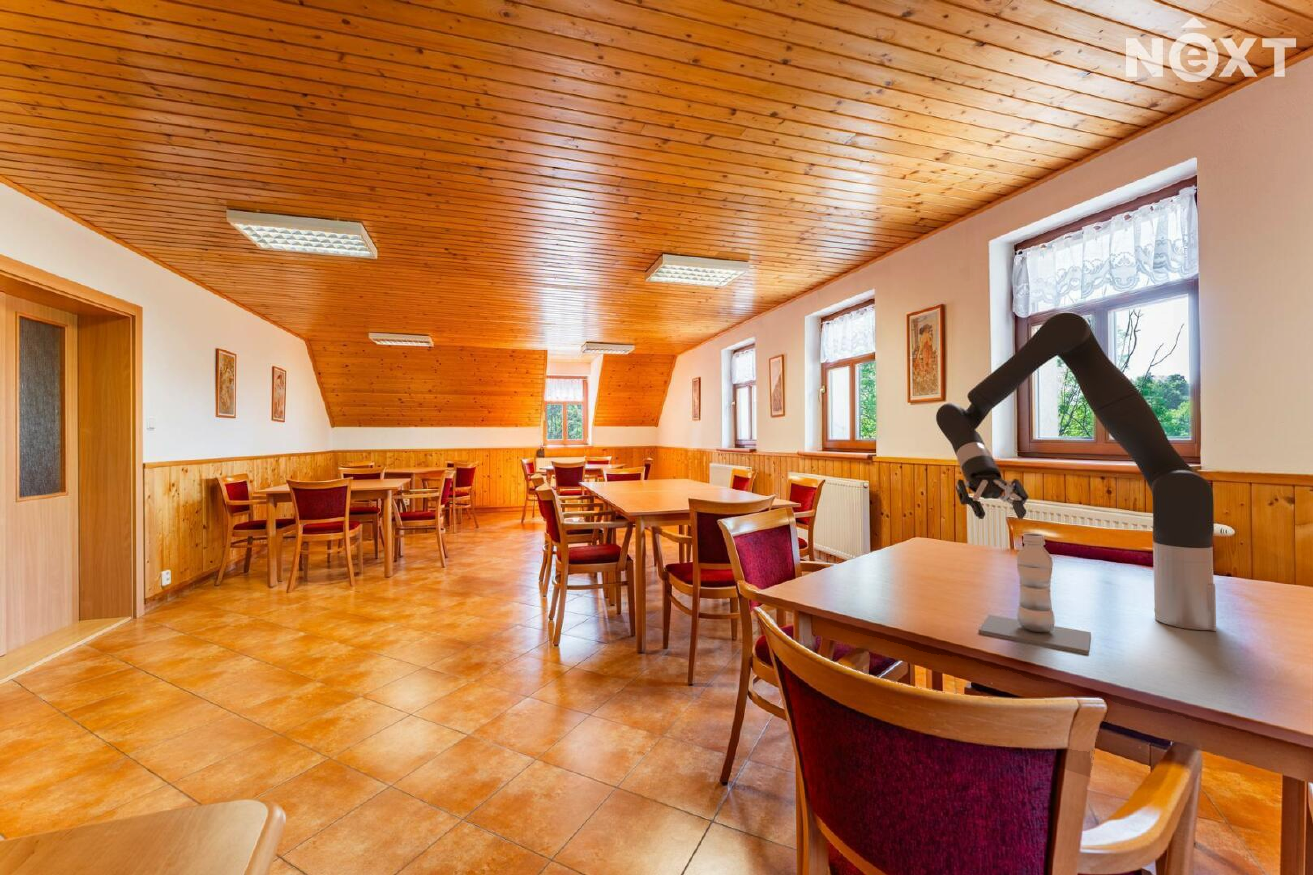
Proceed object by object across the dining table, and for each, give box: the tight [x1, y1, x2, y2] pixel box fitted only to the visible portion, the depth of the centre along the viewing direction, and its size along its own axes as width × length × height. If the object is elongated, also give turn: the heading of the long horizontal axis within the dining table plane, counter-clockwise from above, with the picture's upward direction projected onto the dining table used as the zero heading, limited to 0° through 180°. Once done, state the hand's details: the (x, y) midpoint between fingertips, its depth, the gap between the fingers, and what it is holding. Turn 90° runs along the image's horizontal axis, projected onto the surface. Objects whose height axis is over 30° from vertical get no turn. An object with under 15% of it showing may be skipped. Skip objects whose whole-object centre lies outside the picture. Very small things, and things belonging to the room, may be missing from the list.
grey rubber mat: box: [978, 614, 1092, 656], centre depth 111 cm, size 18×12×1 cm, turn 49°
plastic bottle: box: [1015, 532, 1056, 632], centre depth 111 cm, size 6×7×20 cm
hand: (1002, 516), depth 122 cm, fingers open, 8 cm apart
